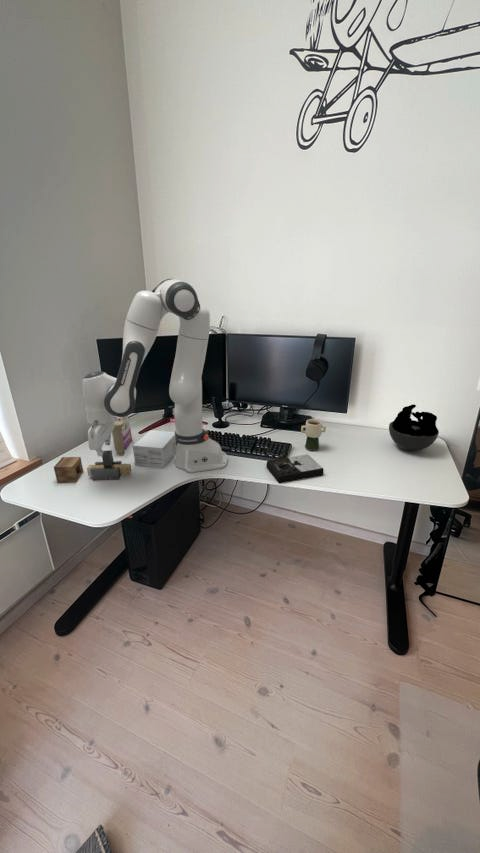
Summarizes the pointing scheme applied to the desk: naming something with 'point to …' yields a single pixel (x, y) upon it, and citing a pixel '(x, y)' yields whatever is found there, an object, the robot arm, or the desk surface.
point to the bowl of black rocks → (413, 429)
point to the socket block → (68, 470)
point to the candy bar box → (124, 430)
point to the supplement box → (155, 449)
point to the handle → (118, 438)
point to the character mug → (313, 433)
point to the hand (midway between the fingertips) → (104, 449)
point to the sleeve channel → (105, 472)
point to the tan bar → (110, 464)
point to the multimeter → (294, 468)
